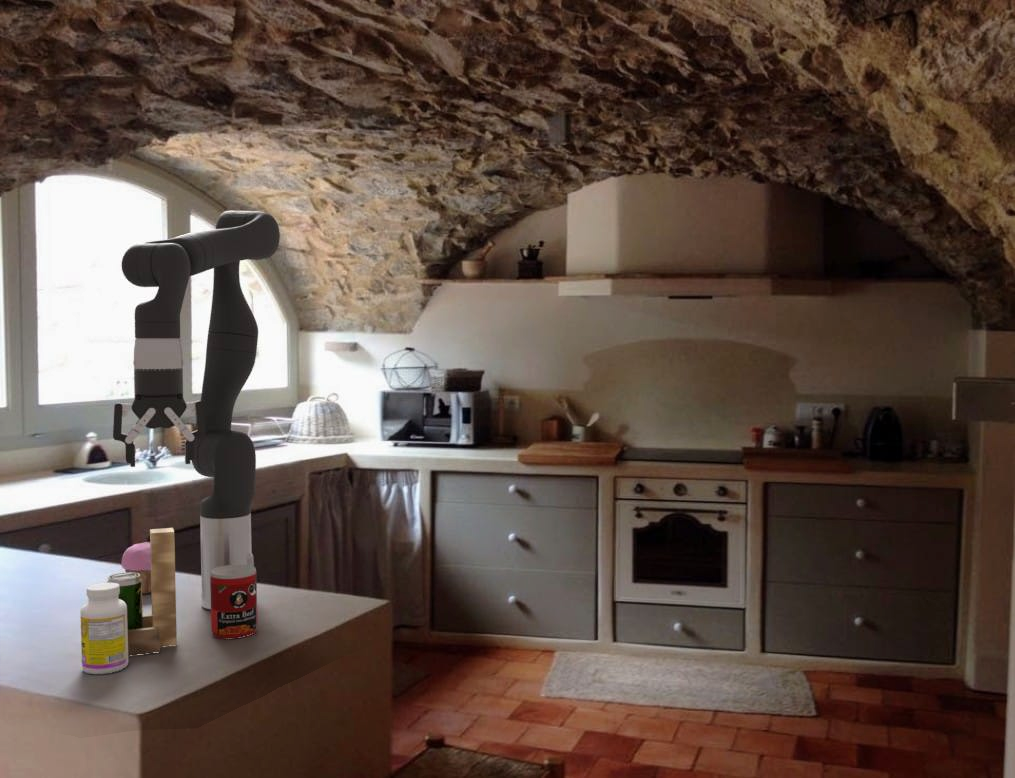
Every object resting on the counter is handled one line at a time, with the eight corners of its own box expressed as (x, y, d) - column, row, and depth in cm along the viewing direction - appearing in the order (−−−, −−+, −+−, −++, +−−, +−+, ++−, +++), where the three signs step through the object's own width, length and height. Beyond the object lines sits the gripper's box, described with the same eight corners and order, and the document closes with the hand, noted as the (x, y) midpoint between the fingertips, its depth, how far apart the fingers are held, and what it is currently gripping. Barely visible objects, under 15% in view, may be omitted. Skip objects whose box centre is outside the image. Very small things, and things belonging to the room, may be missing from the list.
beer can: (112, 655, 159) (110, 581, 158) (104, 647, 163) (103, 574, 163) (147, 649, 162) (145, 577, 161) (138, 641, 166) (137, 570, 166)
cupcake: (177, 590, 200) (176, 541, 199) (139, 600, 192) (138, 548, 192) (151, 584, 205) (150, 536, 204) (112, 593, 198) (111, 543, 197)
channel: (156, 636, 169) (156, 613, 169) (159, 652, 160) (159, 628, 160) (92, 643, 165) (92, 620, 165) (92, 660, 156) (91, 635, 156)
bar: (175, 639, 167) (172, 527, 166) (176, 645, 164) (174, 531, 163) (152, 642, 166) (149, 529, 165) (153, 648, 163) (150, 533, 162)
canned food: (216, 642, 166) (215, 577, 165) (207, 629, 173) (205, 567, 172) (262, 635, 169) (261, 571, 169) (251, 623, 176) (250, 562, 176)
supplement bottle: (90, 662, 156) (88, 581, 155) (133, 660, 157) (132, 580, 156) (75, 676, 149) (73, 592, 149) (121, 675, 150) (119, 591, 149)
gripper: (201, 365, 169) (203, 460, 170) (111, 366, 163) (113, 464, 164) (205, 366, 162) (207, 465, 163) (111, 367, 156) (113, 470, 157)
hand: (160, 465), depth 163 cm, fingers open, 8 cm apart
